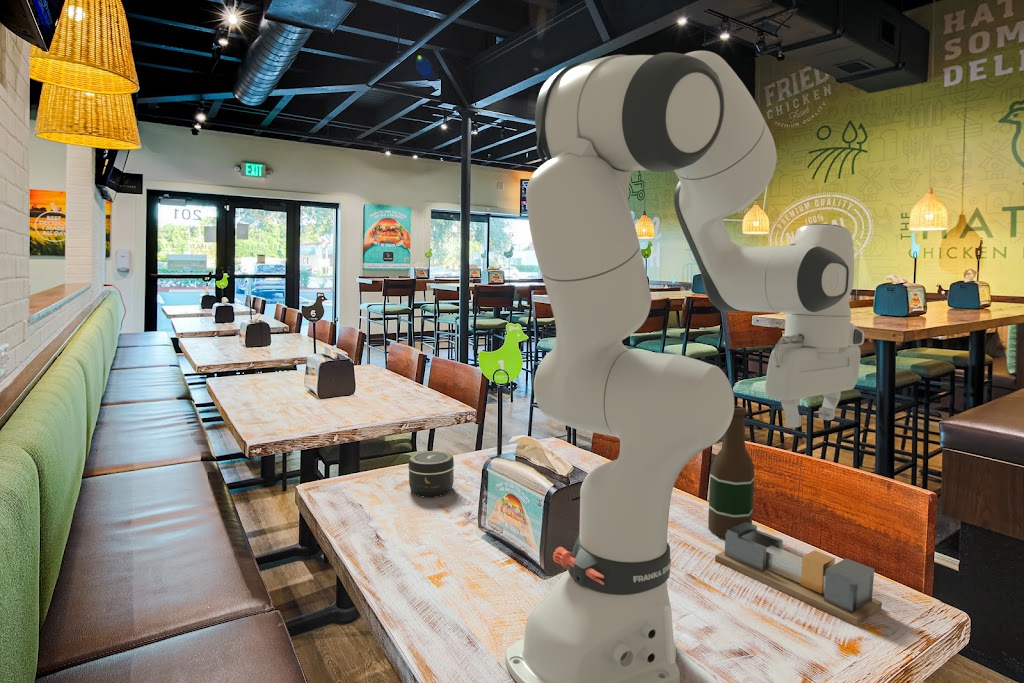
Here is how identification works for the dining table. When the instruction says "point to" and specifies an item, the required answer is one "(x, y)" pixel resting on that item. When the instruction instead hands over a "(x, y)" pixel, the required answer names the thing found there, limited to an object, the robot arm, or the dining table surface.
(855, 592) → the socket
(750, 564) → the grey u-shaped bracket
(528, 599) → the dining table surface
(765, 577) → the board
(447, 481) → the jar
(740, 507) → the beer bottle
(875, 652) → the dining table surface
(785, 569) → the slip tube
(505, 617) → the dining table surface
